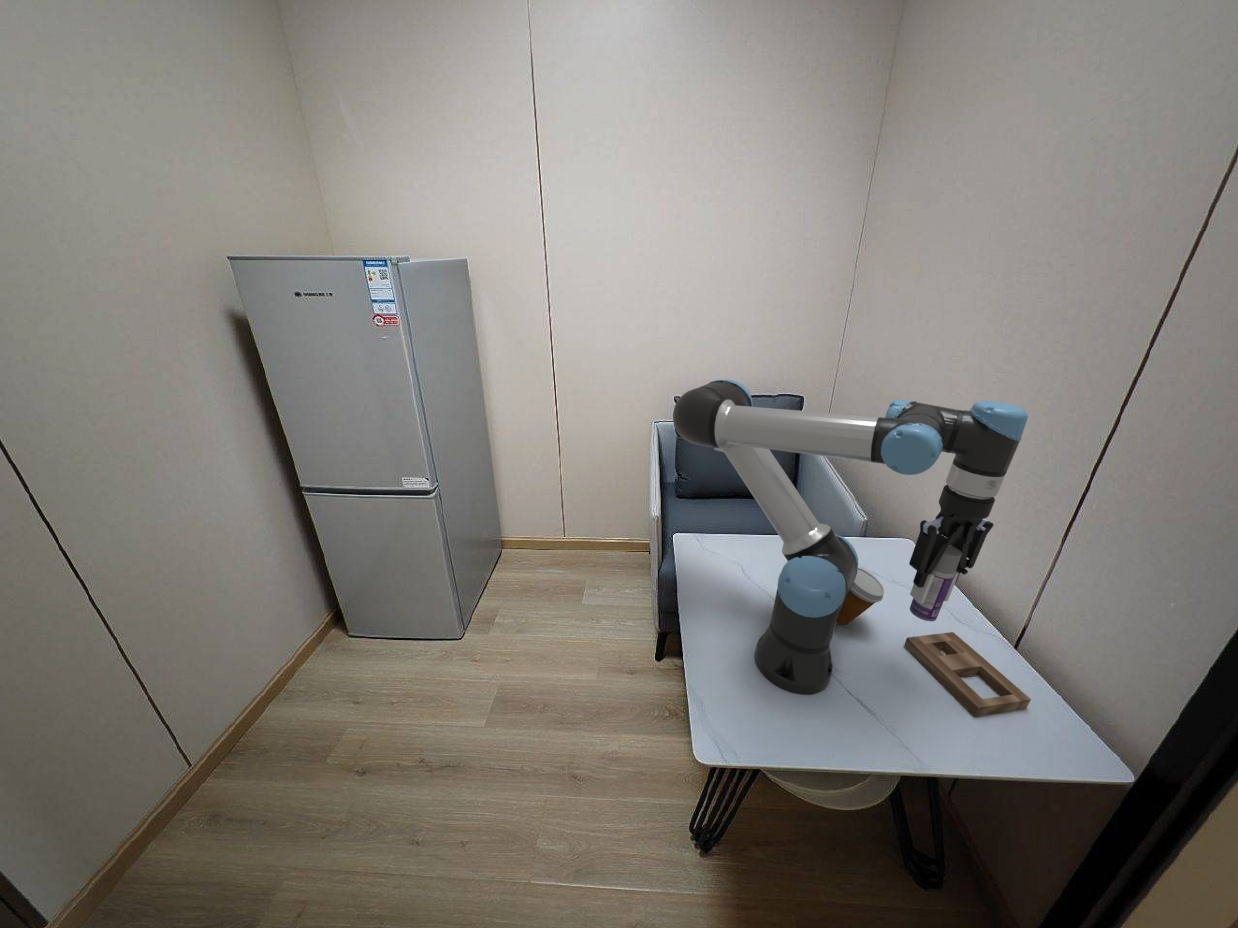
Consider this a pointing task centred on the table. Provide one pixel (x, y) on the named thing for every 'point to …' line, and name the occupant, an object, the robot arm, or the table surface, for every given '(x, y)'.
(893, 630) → the table surface
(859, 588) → the disposable coffee cup
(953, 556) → the container
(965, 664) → the socket board
